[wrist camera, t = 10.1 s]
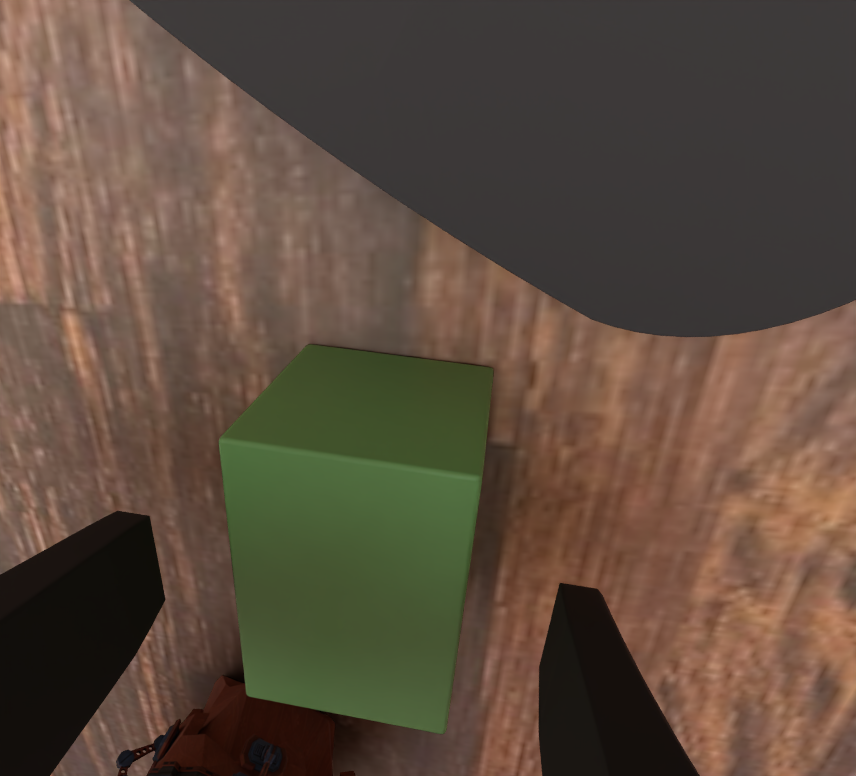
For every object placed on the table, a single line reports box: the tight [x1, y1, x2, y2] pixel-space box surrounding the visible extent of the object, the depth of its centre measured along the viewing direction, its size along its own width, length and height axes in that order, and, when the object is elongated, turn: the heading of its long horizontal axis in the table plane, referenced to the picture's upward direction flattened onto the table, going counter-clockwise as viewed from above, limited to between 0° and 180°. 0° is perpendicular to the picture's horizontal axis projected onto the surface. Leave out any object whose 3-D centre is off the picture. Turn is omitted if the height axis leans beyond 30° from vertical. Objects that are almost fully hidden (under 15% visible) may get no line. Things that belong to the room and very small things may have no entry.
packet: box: [219, 344, 494, 734], centre depth 11 cm, size 6×4×4 cm, turn 176°
